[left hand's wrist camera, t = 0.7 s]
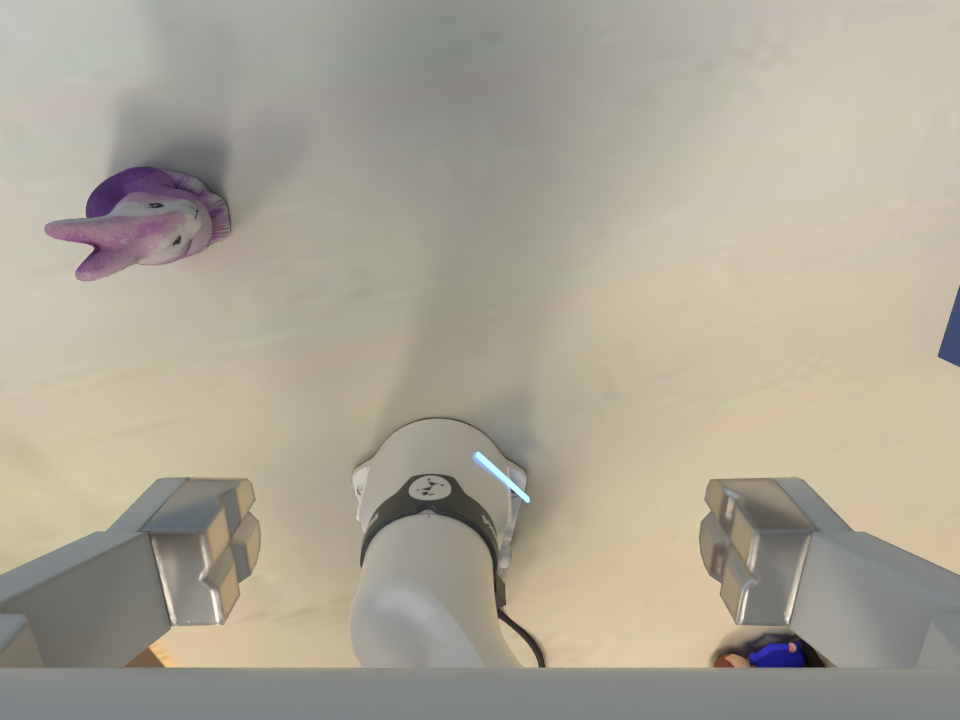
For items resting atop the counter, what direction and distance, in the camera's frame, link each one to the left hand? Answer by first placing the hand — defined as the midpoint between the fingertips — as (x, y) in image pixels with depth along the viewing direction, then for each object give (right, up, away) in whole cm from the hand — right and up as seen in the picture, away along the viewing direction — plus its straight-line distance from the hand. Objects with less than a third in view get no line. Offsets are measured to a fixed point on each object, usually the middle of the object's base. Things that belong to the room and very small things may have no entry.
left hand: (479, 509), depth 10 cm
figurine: (-27, +16, +42) cm, 53 cm away
